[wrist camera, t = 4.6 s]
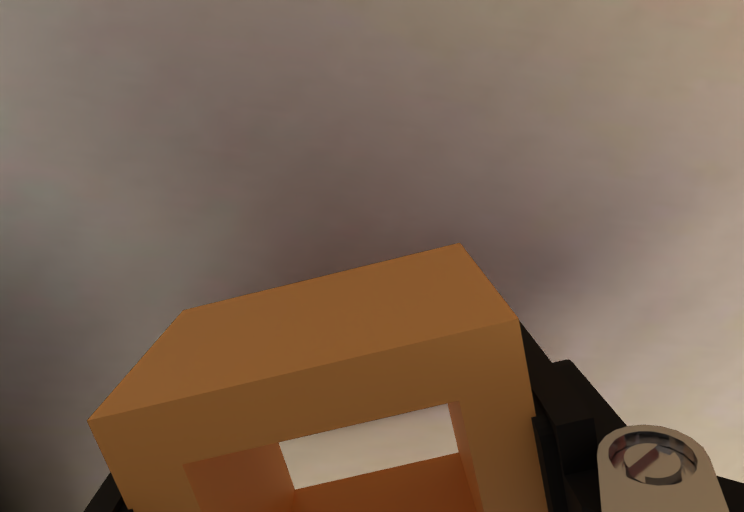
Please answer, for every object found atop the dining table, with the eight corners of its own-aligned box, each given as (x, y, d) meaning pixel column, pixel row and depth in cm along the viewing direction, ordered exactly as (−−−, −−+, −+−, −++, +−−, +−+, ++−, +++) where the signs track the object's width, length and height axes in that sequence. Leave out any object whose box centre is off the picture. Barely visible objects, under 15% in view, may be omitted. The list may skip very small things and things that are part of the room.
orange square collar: (182, 310, 11) (86, 420, 7) (459, 242, 11) (518, 318, 7) (266, 531, 12) (226, 720, 9) (507, 477, 12) (577, 647, 8)
